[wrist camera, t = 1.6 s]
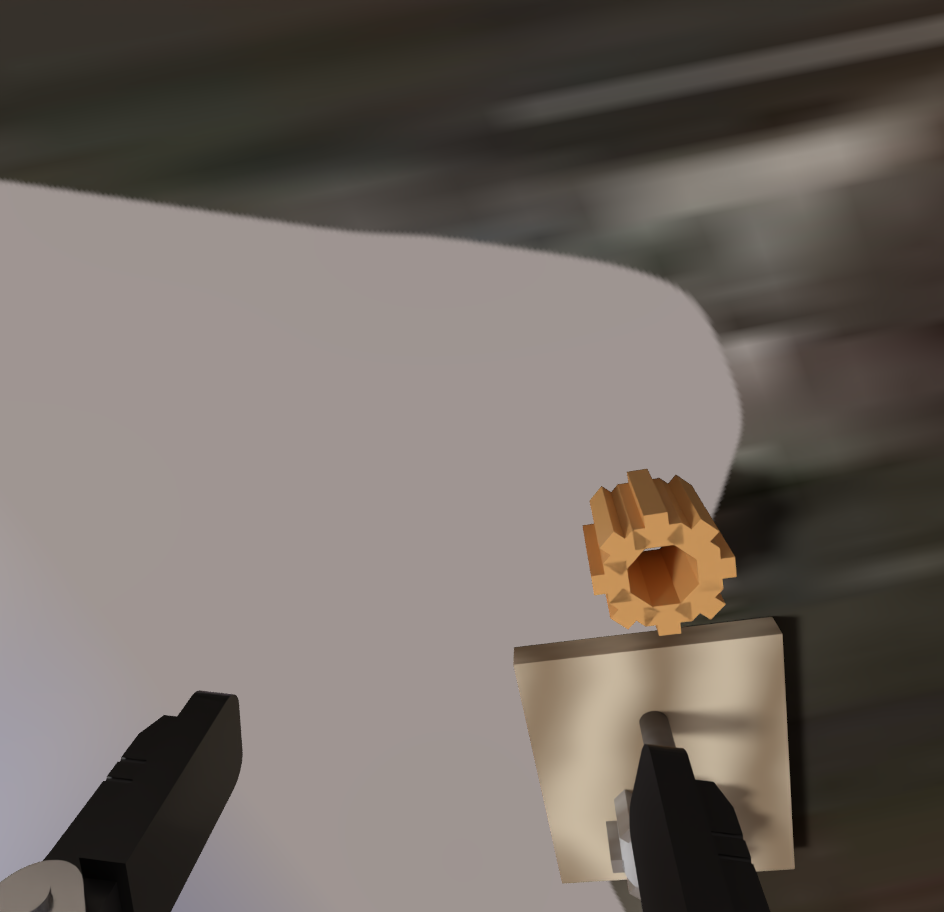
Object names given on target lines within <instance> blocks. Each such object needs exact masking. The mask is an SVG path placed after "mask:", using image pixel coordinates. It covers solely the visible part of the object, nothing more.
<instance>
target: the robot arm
mask: <svg viewBox="0 0 944 912" xmlns="http://www.w3.org/2000/svg"><path fill="white" fill-rule="evenodd" d="M241 764H242V740H241V726H240V711H239V700H238V698H237V696H236V695H233V694H224V693H216V692H207V691H197V692H195V693H194V694H193V695H192V696H191V698H190V700H189V701H188V702H187V703H186V705H185V706H184V708H183V709H182V711H181V712H180V713H179V715H178V716H177V717H176V716H167V715H164V716H162V717H161V718H160V719H158V720H157V721H156V722H154V723H153V724H151V725H150V726H149V727H147V728H146V729H145V730H143V731H142V732H141V733H139V734H138V736H137V737H136V738H135V740H134V741H133V742H132V744H131V745H130V746H129V748H128V749H127V750H126V752H125V753H124V754H123V756H122V757H121V761H120V762H117V764H116V765H115V766H114V768H113V769H112V770H111V772H110V773H109V774H108V776H107V779H106V781H103V782H102V784H101V785H100V786H99V787H98V789H97V790H96V791H95V793H94V794H93V796H92V797H91V798H90V799H89V801H88V802H87V804H86V805H85V806H84V808H83V809H82V810H81V811H80V813H79V814H78V815H77V817H76V818H75V820H74V821H73V822H72V823H71V825H70V826H69V827H68V829H67V830H66V832H65V833H64V834H63V835H62V837H61V838H60V840H59V841H58V842H57V843H56V845H55V846H54V847H53V849H52V850H51V851H50V853H49V854H48V855H47V856H46V858H45V859H44V860H43V861H41V862H38V863H34V864H32V865H29V866H26V867H24V868H22V869H20V870H18V871H16V872H15V873H13V874H11V875H10V876H8V877H7V878H5V879H4V880H3V881H1V882H0V912H171V910H172V908H173V906H174V904H175V902H176V901H177V899H178V897H179V895H180V893H181V891H182V889H183V887H184V885H185V883H186V881H187V879H188V877H189V875H190V873H191V871H192V869H193V867H194V865H195V863H196V862H197V860H198V858H199V856H200V854H201V852H202V850H203V848H204V846H205V844H206V842H207V840H208V838H209V836H210V834H211V832H212V830H213V828H214V826H215V824H216V822H217V821H218V818H219V817H220V815H221V813H222V811H223V809H224V807H225V805H226V803H227V801H228V799H229V797H230V795H231V793H232V791H233V789H234V787H235V785H236V782H237V780H238V776H239V773H240V768H241ZM629 826H630V837H631V844H632V850H633V856H634V862H635V868H636V874H637V880H638V886H639V892H640V898H641V903H642V909H643V912H770V910H769V907H768V904H767V901H766V898H765V895H764V893H763V890H762V887H761V884H760V881H759V878H758V876H757V873H756V870H755V867H754V864H752V863H751V856H750V853H749V850H748V847H747V844H746V841H745V840H743V833H742V830H741V827H740V824H739V821H738V819H737V816H736V813H735V810H734V807H733V806H732V805H731V803H730V802H729V801H728V799H727V798H726V797H725V796H724V794H723V793H722V792H721V790H720V789H719V788H718V787H717V785H716V784H715V783H714V782H712V781H703V780H695V777H694V773H693V770H692V767H691V763H690V760H689V757H688V754H687V752H686V750H685V749H684V748H677V747H669V746H660V745H652V744H644V746H643V748H642V751H641V755H640V760H639V765H638V769H637V774H636V779H635V783H634V788H633V793H632V797H631V802H630V814H629Z"/></svg>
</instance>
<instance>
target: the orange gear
mask: <svg viewBox="0 0 944 912" xmlns="http://www.w3.org/2000/svg"><path fill="white" fill-rule="evenodd" d="M627 476H628V483H624V484H618V485H617V486H616V487H615V488H614V490H613V491H612V492H610V491H608V490H607V489H605V488H604V487H602V486H601V487H600V489H599V490H598V491H597V492H596V494H595V495H594V496H593V497H592V498H591V500H590V505H591V509H592V515H593V520H594V524H590V525H583V531H584V537H585V543H586V549H587V555H588V560H589V566H590V573H591V578H592V584H593V590H594V595H599V594H606V598H607V603H608V608H609V613H610V618H611V619H612V620H614V621H616V622H617V623H619V624H620V625H622V626H623V627H625V628H627V629H629V628H630V627H631V626H632V625H633V624H634V623H635V621H638V622H639V623H641V624H643V625H644V626H654V625H656V628H657V631H658V634H659V636H663V635H672V634H680V633H681V626H680V622H687V621H693V620H694V619H695V618H696V617H697V616H698V614H699V613H701V614H703V615H704V616H706V617H707V618H709V619H712V618H713V617H714V616H715V615H716V614H717V613H718V612H719V611H720V610H721V609H722V608H723V607H724V606H725V605H726V604H725V602H724V600H723V598H722V596H721V594H720V592H721V591H722V590H723V580H722V579H724V578H731V577H737V576H736V563H735V556H734V554H733V553H732V551H731V549H730V548H729V546H728V544H727V543H726V541H725V539H724V538H723V536H722V534H721V533H720V531H719V529H718V528H717V526H716V524H715V523H714V521H713V520H712V518H711V516H710V515H709V513H708V511H707V510H706V508H705V507H704V505H703V503H702V502H701V500H700V498H699V497H698V495H697V493H696V492H695V490H694V488H693V487H692V485H690V484H689V483H687V482H686V481H684V480H683V479H681V478H680V477H679V476H677V475H675V476H674V477H673V479H672V480H671V481H670V482H669V483H666V482H665V481H663V480H662V479H660V478H657V479H652V478H651V476H650V474H649V471H648V469H642V470H636V471H630V472H627ZM654 547H661V548H660V549H657V550H649V551H644V549H647V548H654Z"/></svg>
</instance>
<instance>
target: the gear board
mask: <svg viewBox="0 0 944 912" xmlns="http://www.w3.org/2000/svg"><path fill="white" fill-rule="evenodd" d="M514 669H515V674H516V678H517V683H518V687H519V692H520V696H521V701H522V705H523V709H524V714H525V718H526V723H527V727H528V732H529V736H530V741H531V745H532V749H533V754H534V758H535V763H536V768H537V772H538V776H539V781H540V785H541V790H542V795H543V799H544V804H545V808H546V812H547V817H548V822H549V826H550V830H551V835H552V839H553V844H554V848H555V852H556V857H557V862H558V866H559V870H560V875H561V880H562V883H577V882H592V881H609V880H625V879H627V882H628V889H629V893H630V894H631V895H633V896H635V897H637V898H639V899H640V900H641V898H640V892H639V886H638V880H637V874H636V868H635V862H634V856H633V850H632V844H631V837H630V826H629V814H630V802H631V797H632V793H633V788H634V783H635V779H636V774H637V769H638V765H639V760H640V755H641V751H642V748H643V746H644V744H652V745H660V746H669V747H677V748H684V749H685V750H686V752H687V754H688V757H689V760H690V763H691V767H692V770H693V773H694V777H695V780H703V781H712V782H714V783H715V784H716V785H717V787H718V788H719V789H720V790H721V792H722V793H723V794H724V796H725V797H726V798H727V799H728V801H729V802H730V803H731V805H732V806H733V807H734V810H735V813H736V816H737V819H738V821H739V824H740V827H741V830H742V833H743V840H745V841H746V844H747V847H748V850H749V853H750V856H751V863H752V864H754V867H755V870H756V871H769V870H785V869H795V867H794V847H793V828H792V809H791V790H790V770H789V751H788V732H787V713H786V693H785V674H784V655H783V636H782V632H781V631H780V629H779V627H778V626H777V624H776V622H775V621H774V619H773V617H765V618H757V619H749V620H740V621H732V622H723V623H715V624H707V625H698V626H690V627H681V633H680V634H672V635H663V636H659V634H658V631H657V630H656V631H649V632H639V633H631V634H623V635H615V636H606V637H597V638H589V639H581V640H573V641H564V642H556V643H548V644H539V645H530V646H522V647H515V648H514Z"/></svg>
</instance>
